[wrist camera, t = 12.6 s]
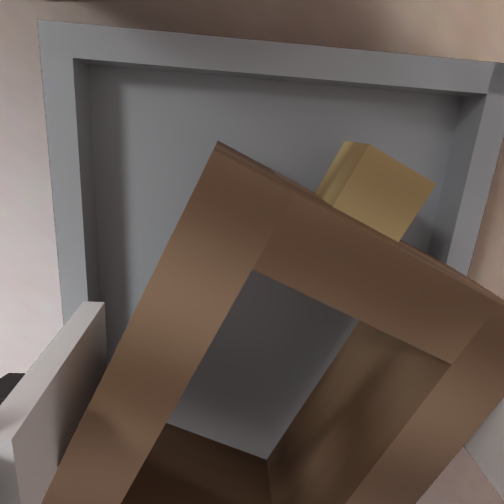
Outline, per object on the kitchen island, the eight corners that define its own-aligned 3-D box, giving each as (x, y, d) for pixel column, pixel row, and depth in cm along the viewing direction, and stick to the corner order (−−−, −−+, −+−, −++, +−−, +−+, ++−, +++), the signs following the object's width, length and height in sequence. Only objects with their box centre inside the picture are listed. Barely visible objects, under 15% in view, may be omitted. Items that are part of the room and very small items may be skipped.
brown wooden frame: (283, 504, 18) (303, 637, 14) (75, 432, 16) (13, 559, 11) (484, 222, 15) (609, 270, 10) (245, 83, 12) (258, 58, 8)
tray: (63, 33, 14) (36, 19, 12) (484, 72, 15) (522, 64, 13) (94, 479, 21) (80, 518, 19) (387, 481, 22) (403, 516, 20)
